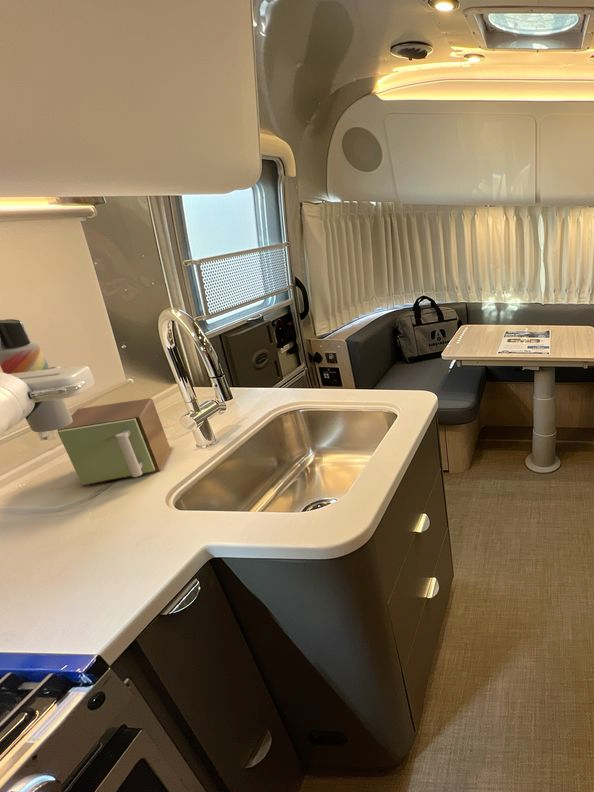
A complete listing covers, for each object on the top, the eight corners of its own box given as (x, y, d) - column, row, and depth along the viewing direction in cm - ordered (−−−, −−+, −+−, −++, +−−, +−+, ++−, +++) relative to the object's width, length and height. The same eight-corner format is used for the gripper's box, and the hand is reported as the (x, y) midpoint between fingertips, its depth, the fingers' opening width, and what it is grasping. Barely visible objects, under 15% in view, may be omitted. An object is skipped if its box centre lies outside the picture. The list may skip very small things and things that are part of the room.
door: (74, 495, 101) (48, 441, 96) (83, 482, 106) (59, 430, 101) (149, 480, 107) (128, 427, 101) (155, 469, 111) (135, 418, 106)
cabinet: (83, 486, 107) (57, 429, 101) (101, 461, 117) (77, 408, 111) (159, 471, 112) (139, 416, 106) (170, 448, 122) (151, 397, 116)
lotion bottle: (32, 425, 90) (-19, 319, 82) (73, 416, 93) (28, 314, 85) (30, 436, 86) (-24, 325, 78) (73, 426, 89) (26, 319, 81)
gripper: (69, 371, 77) (98, 349, 89) (-113, 393, 69) (-56, 365, 81) (84, 407, 80) (110, 381, 91) (-90, 432, 72) (-37, 399, 83)
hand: (31, 373), depth 86 cm, fingers closed on lotion bottle, 5 cm apart
